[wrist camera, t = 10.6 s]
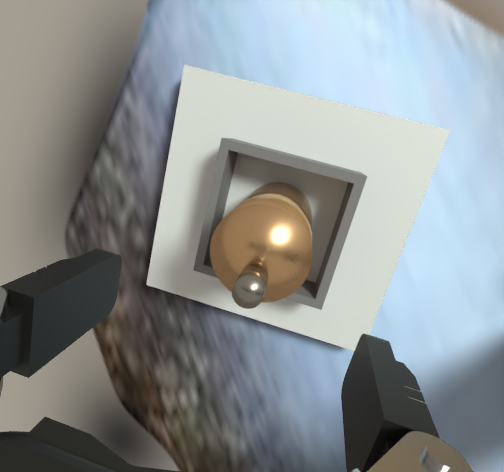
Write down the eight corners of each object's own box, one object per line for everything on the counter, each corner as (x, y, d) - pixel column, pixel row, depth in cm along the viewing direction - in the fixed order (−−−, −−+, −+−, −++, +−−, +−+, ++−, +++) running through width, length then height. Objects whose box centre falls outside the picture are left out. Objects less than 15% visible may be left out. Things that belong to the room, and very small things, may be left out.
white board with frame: (439, 131, 24) (469, 128, 19) (358, 339, 29) (366, 378, 24) (194, 70, 26) (166, 54, 21) (156, 276, 31) (127, 300, 26)
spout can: (320, 192, 25) (327, 230, 14) (301, 257, 26) (295, 335, 16) (251, 174, 25) (209, 199, 15) (237, 239, 27) (188, 304, 16)
